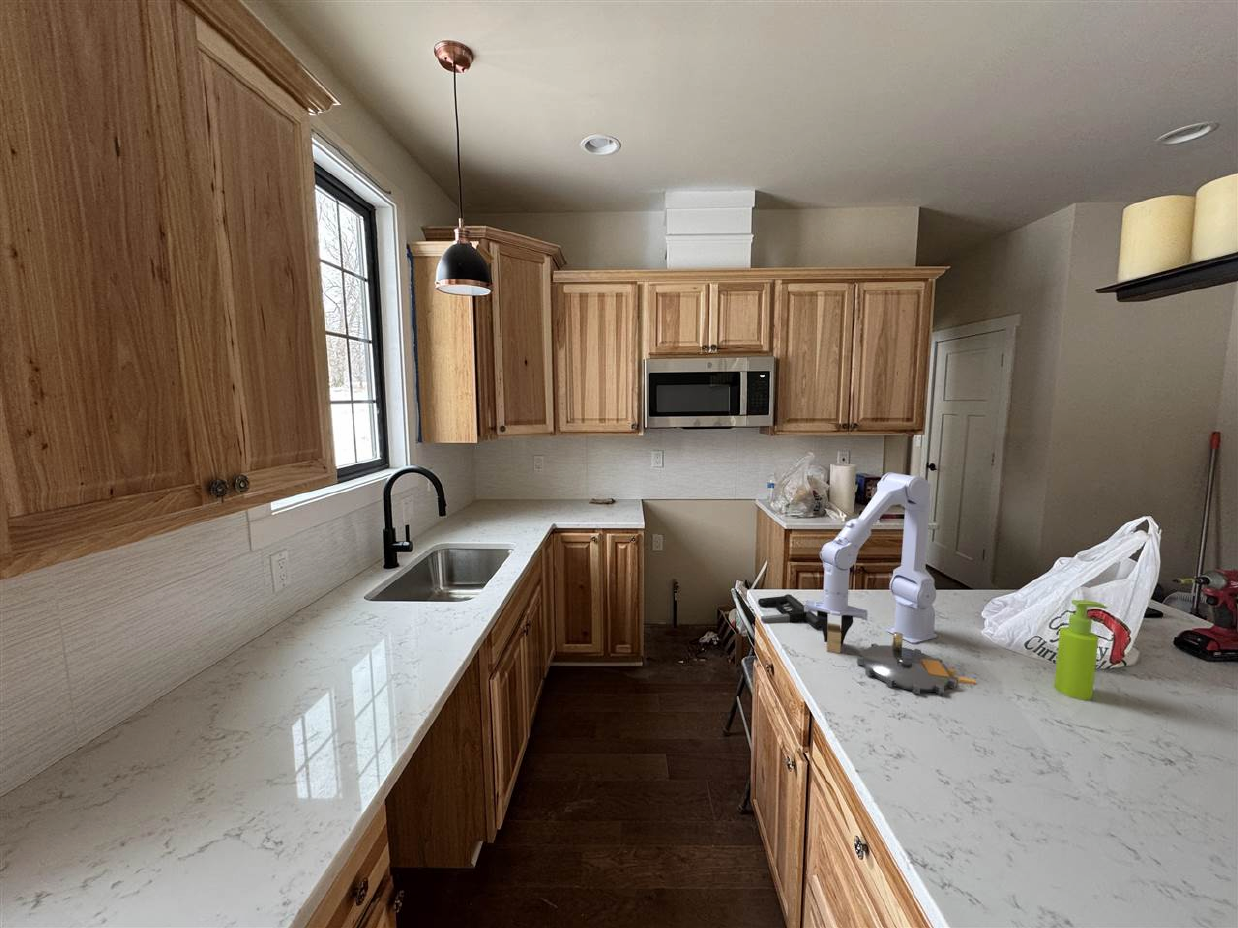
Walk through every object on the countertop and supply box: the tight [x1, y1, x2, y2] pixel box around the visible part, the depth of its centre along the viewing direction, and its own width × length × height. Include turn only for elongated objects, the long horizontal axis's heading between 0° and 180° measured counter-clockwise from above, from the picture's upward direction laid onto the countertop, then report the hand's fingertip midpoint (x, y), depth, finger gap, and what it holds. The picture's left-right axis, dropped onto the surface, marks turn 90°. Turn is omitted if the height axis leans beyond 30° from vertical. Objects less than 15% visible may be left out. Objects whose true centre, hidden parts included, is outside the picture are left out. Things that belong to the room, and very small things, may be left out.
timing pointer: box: [957, 676, 976, 685], centre depth 107 cm, size 3×1×1 cm, turn 68°
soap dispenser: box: [1053, 599, 1108, 701], centre depth 102 cm, size 6×7×20 cm
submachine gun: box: [757, 593, 822, 630], centre depth 142 cm, size 3×20×16 cm
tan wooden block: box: [826, 622, 842, 654], centre depth 123 cm, size 6×3×5 cm, turn 158°
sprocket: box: [856, 632, 957, 696], centre depth 111 cm, size 20×20×6 cm
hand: (833, 641), depth 123 cm, fingers closed on tan wooden block, 3 cm apart
